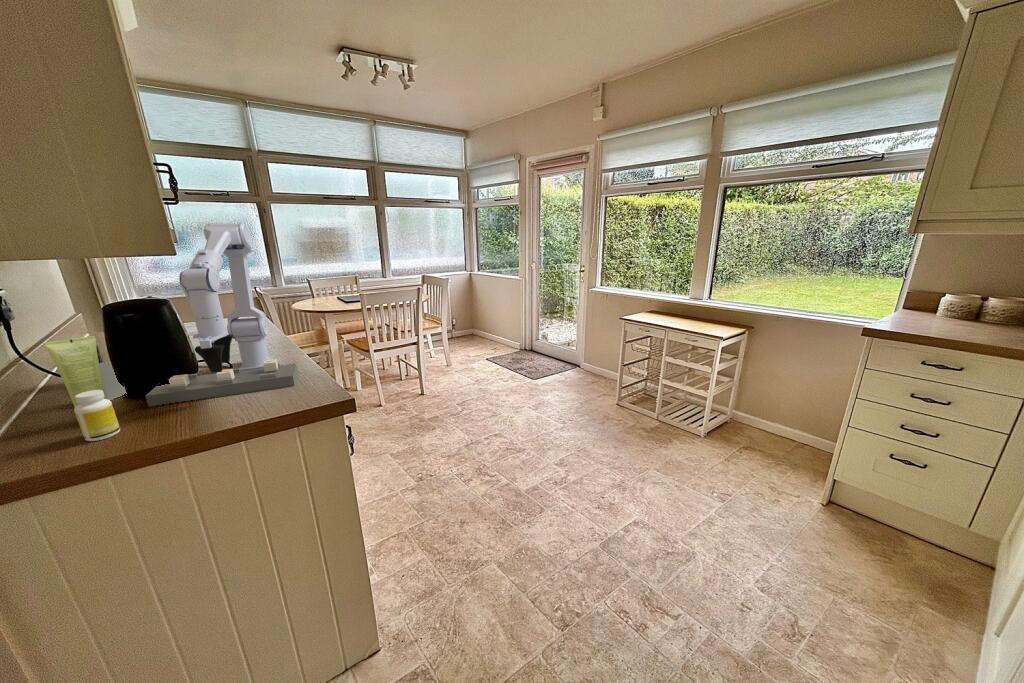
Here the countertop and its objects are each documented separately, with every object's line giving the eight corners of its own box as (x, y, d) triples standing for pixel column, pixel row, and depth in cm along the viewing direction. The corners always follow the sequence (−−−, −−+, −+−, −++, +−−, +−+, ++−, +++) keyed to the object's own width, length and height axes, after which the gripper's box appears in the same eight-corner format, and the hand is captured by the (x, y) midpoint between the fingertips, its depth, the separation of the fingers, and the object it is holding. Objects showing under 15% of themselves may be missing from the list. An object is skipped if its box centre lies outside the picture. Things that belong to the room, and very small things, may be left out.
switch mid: (221, 378, 103) (219, 369, 103) (234, 377, 105) (232, 368, 104) (218, 382, 101) (216, 373, 100) (232, 381, 102) (229, 371, 101)
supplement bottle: (128, 429, 84) (114, 388, 81) (100, 442, 79) (84, 399, 76) (106, 428, 84) (92, 387, 82) (77, 441, 79) (61, 398, 76)
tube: (99, 413, 91) (71, 335, 86) (120, 413, 91) (95, 335, 86) (73, 425, 86) (42, 342, 80) (96, 425, 86) (67, 342, 80)
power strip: (166, 390, 104) (162, 376, 103) (298, 372, 116) (295, 360, 115) (148, 406, 94) (144, 392, 93) (294, 385, 107) (292, 372, 106)
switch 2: (266, 368, 111) (264, 360, 110) (278, 367, 112) (276, 358, 111) (264, 372, 108) (263, 363, 108) (277, 370, 109) (275, 361, 109)
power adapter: (95, 402, 97) (79, 358, 94) (117, 394, 102) (103, 351, 99) (106, 403, 97) (91, 358, 93) (128, 394, 102) (114, 351, 99)
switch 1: (175, 384, 100) (173, 375, 99) (189, 382, 101) (187, 373, 100) (171, 389, 97) (168, 379, 96) (185, 387, 98) (183, 377, 97)
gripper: (198, 312, 100) (210, 360, 104) (178, 324, 88) (192, 379, 92) (230, 310, 103) (240, 357, 107) (215, 321, 90) (228, 374, 94)
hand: (220, 367), depth 100 cm, fingers open, 7 cm apart
